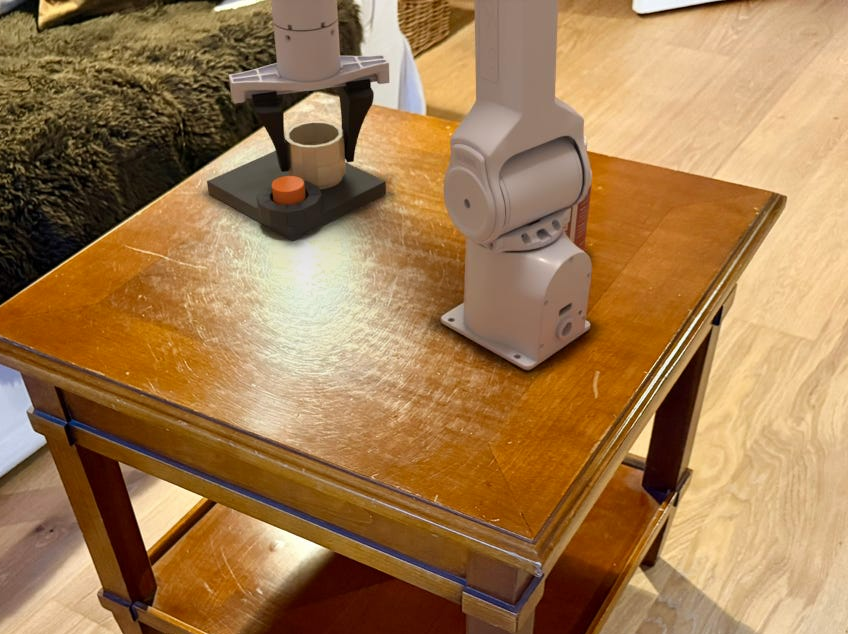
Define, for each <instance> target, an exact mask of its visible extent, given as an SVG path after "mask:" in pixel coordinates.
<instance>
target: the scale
mask: <svg viewBox="0 0 848 634" xmlns="http://www.w3.org/2000/svg"><path fill="white" fill-rule="evenodd" d="M345 167H346V173H345V175H344V176H343V179H342V180H341V182H340V183H338V184H337V185H335V186H333V187H330V188H326V189H319V187H318V186H316V185H314V184H312V183H310V182H308V181H304V184H305V196H306V197H305V200H304V201H302V202H300V203H298V204H293V205H281V204H277V203H275V202H274V200H273V193H272V183H273V181H274V180H276V179H277V178H280V177H284V176H288V171H285V172H282V171H281V169H280V166H279V163H278V158H277V154H276V150H274V151H272V152H269V153H267V154H264V155H262V156H260V157H257V158H256V159H253V160H251V161H248V162H247V163H244V164H243V165H240V166H238V167H236V168H233V169H231V170H229V171H227V172H223V173H222V174H220V175H217V176H215V177H213V178H210V179H209V180H206V185H207V193H208V194H209V195H210V196H211V197H213V198H216V199H217V200H218V201H221V202H222V203H225V204H226V205H228V206H230V207H232V209H235V210H237V211H239V212H240V213H242V214H243V215H246V216H247V217H249V218H251V219H253V220H255V221H257V222H258V223H260V224H262V225H263V226H265V227H267V228H268V229H270V230H273V231H274V232H276V233H277V234H280V235H281V236H283V237H285V238H287V239H288V240H290V241H292V242H294V241H296V240H298V239H300V238H301V237H304V236H306V235H307V234H310V233H312V232H313V231H315V230H318V229H319V228H322V227H324V226H326V225H327V224H330V223H332V222H334V221H335V220H337V219H340V218H341V217H344V216H345V215H348V214H350V213H351V212H353V211H356V210H357V209H359V208H362V207H363V206H365V205H367V204H369V203H371V202H373V201H376V200H377V199H379V198H381V197H384V196H385V195H386V194H387V181H386V180H384V179H382V178H380V177H378V176H376V175H374V174H371V173H369V172H368V171H365V170H363V169H361V168H359V167H358V166H357V167H356V166H354V165H353V164H350V163H349V162H348V163H347V161H345Z"/></svg>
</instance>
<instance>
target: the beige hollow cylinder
mask: <svg viewBox="0 0 848 634" xmlns="http://www.w3.org/2000/svg"><path fill="white" fill-rule="evenodd" d="M284 137H285V146H286V152H287V157H288V164H289V171H288V176H296V177H299V178H301V179H303V181H308V182H310V183H312V184H314V185H316V186H318V187H319V189H326V188H330V187H333V186H335V185H337V184H338V183H340V182H341V180H342V179H343V176H344V175H345V173H346V167H345V162H346V159H345V149H344V133H343V129H342V126H339V125H338V124H337V123H334V122H330V121H326V120H309V121H304V122H299V123H296V124H295V125H292V126H290V127H288V129H287V130H286V131H284Z"/></svg>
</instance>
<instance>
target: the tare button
mask: <svg viewBox="0 0 848 634" xmlns="http://www.w3.org/2000/svg"><path fill="white" fill-rule="evenodd" d="M272 193H273V200H274V202H275V203H277V204H281V205H293V204H298V203H300V202H302V201H304V200H305V197H306V196H305V184H304V181H303V179H301V178H299V177H296V176H284V177H280V178H277V179H276V180H274V181H273V183H272Z"/></svg>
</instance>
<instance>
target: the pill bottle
mask: <svg viewBox="0 0 848 634" xmlns="http://www.w3.org/2000/svg"><path fill="white" fill-rule="evenodd" d="M584 144H585V148H586V152H587V153H588V138H587V136H586V135H585V134H584ZM590 169H591V180H590V186H589V190H588V192H587V194H586V196H585V198H584V199H583V200H582V201H581V202H580V203H579V204H577V205H575V206H572V207H571V214H570V222H568V223H566V224H565V225H564V226H563V229H564V231H565V233H566V235H567V236H568V238H569V239H570V240H571V241H572V242H573V243H574V244H575V245H576V246H577V247H578V248H580V249H581V250H583V251H584V252H585V248H586V237H587V229H588V221H589V219H588V218H589V213H590V212H589V211H590V203H591V202H590V201H591V194H592V185H593V170H592V168H591V167H590Z"/></svg>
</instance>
